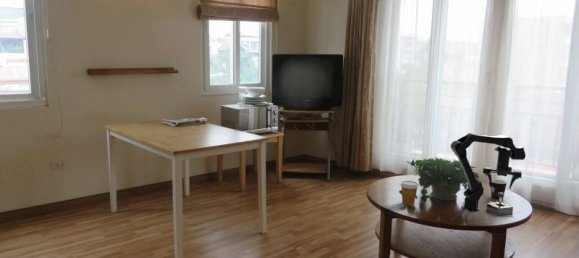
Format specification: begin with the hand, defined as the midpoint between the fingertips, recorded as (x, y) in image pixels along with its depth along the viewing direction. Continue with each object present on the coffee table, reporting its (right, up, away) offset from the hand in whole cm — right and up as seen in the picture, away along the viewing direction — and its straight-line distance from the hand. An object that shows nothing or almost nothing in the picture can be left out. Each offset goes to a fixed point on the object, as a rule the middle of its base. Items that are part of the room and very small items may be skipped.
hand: (500, 187), depth 254 cm
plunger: (-1, -9, -3) cm, 10 cm away
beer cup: (-47, -10, +9) cm, 49 cm away
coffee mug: (+9, -9, +24) cm, 27 cm away
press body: (-2, -13, -1) cm, 13 cm away
